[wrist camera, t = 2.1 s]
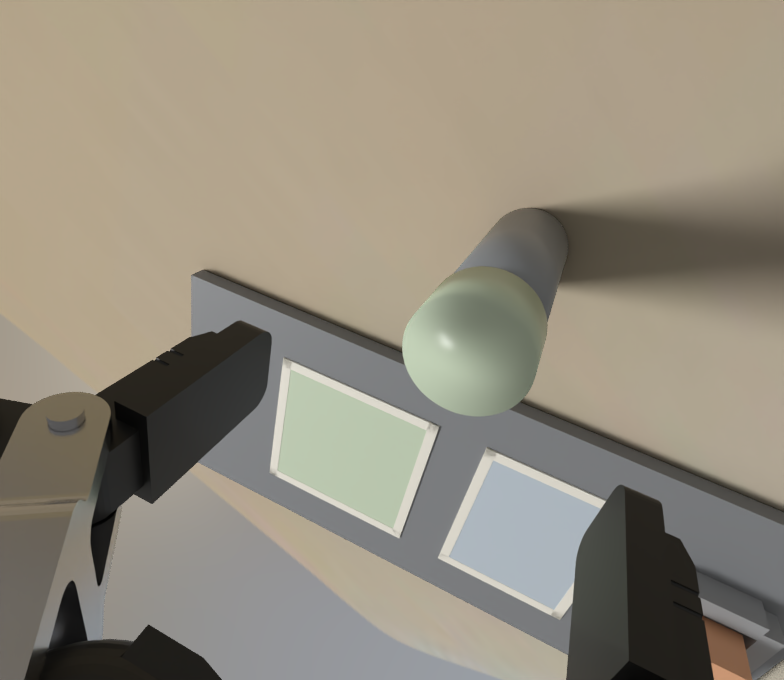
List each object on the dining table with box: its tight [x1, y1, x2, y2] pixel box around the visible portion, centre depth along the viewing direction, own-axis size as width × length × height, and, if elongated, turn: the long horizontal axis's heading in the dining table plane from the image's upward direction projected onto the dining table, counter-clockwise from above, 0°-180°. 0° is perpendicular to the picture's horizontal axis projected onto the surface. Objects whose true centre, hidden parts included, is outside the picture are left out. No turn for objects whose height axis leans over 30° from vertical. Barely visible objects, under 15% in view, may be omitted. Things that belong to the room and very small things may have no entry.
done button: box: [702, 616, 752, 680], centre depth 25 cm, size 4×4×2 cm
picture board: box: [191, 270, 784, 680], centre depth 30 cm, size 38×16×3 cm, turn 77°
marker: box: [402, 208, 568, 417], centre depth 18 cm, size 4×4×11 cm
